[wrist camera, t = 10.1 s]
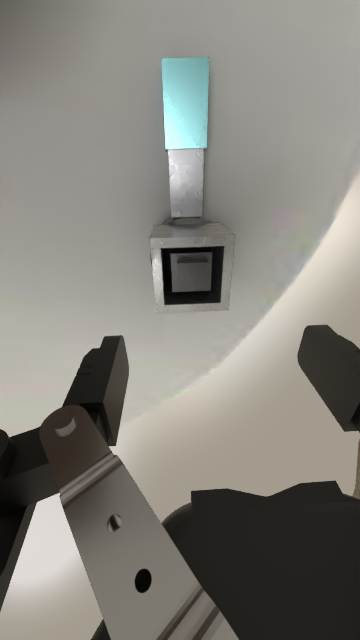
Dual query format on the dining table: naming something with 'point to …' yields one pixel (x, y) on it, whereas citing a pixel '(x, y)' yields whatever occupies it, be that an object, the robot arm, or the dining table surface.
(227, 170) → the dining table surface
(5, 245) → the dining table surface
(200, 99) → the ratchet
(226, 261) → the square metal tube
